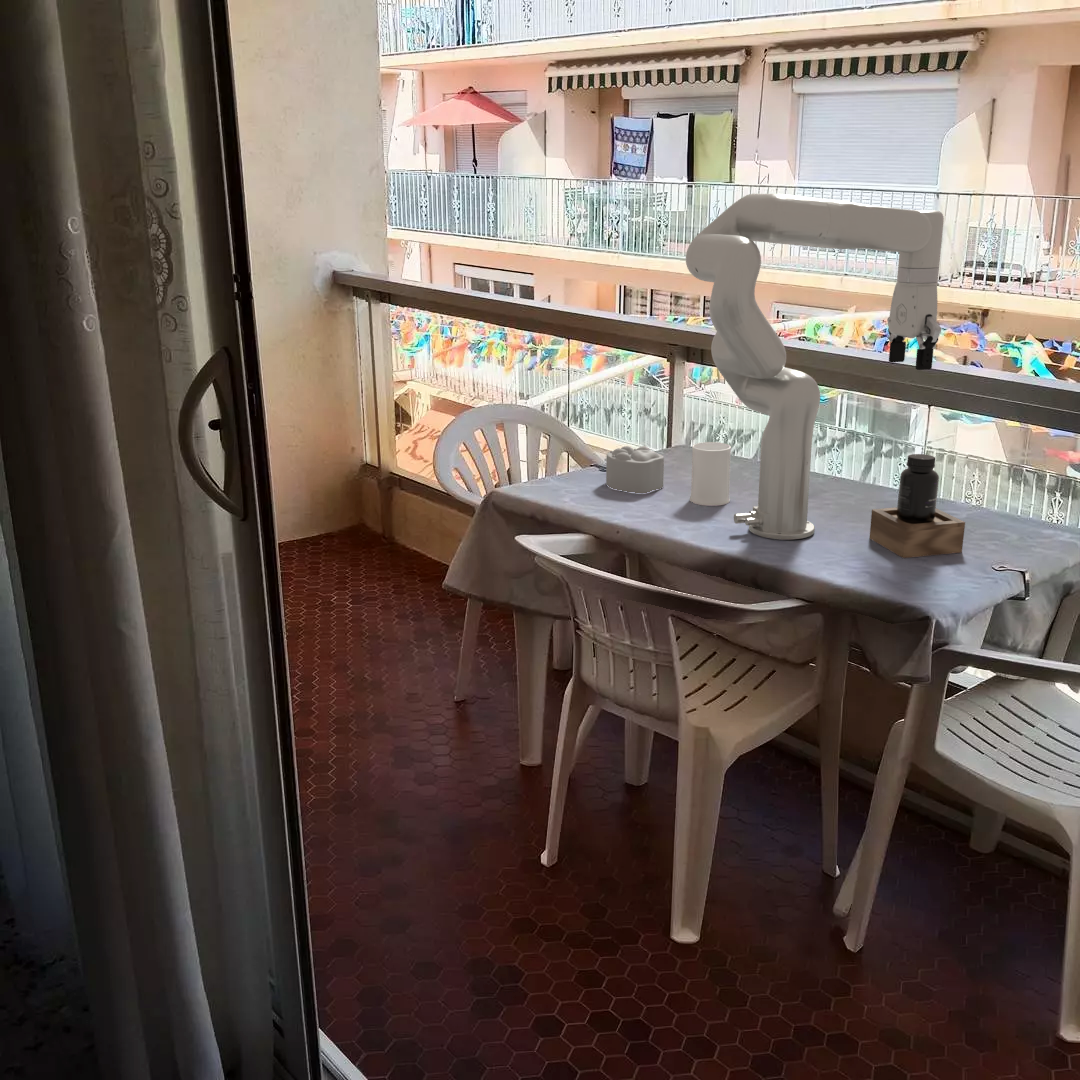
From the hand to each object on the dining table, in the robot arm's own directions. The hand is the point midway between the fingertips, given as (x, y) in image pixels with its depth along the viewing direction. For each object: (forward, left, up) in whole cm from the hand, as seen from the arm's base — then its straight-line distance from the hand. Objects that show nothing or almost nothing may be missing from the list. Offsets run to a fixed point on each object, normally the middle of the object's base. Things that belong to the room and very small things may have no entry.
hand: (909, 365), depth 219 cm
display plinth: (-8, -20, -30) cm, 37 cm away
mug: (-32, +20, -31) cm, 49 cm away
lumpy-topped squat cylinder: (-46, +35, -31) cm, 65 cm away
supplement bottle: (-8, -20, -26) cm, 33 cm away
